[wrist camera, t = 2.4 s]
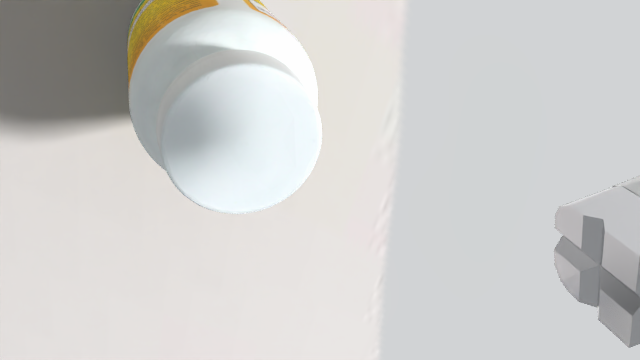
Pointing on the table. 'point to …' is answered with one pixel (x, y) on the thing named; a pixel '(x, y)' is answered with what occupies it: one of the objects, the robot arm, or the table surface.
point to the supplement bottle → (223, 101)
